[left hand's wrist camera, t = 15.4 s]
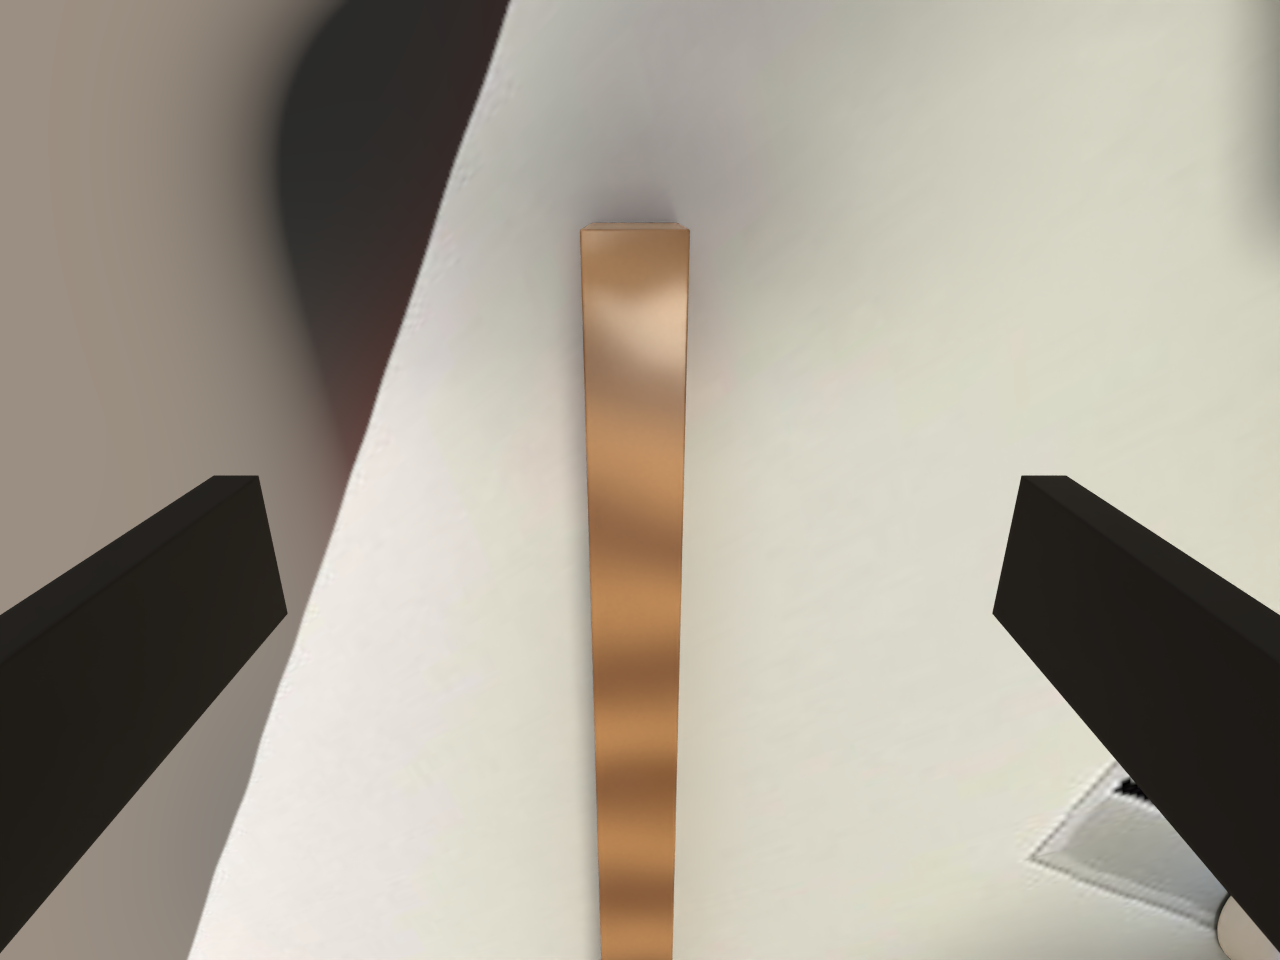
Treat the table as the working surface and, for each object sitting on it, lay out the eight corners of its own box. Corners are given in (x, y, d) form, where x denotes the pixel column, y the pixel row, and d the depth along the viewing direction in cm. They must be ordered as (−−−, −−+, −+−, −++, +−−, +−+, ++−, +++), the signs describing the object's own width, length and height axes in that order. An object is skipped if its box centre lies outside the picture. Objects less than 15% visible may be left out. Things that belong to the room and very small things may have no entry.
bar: (591, 222, 37) (579, 229, 30) (678, 222, 37) (689, 229, 30) (612, 1113, 66) (609, 1236, 58) (661, 1113, 66) (665, 1235, 58)
